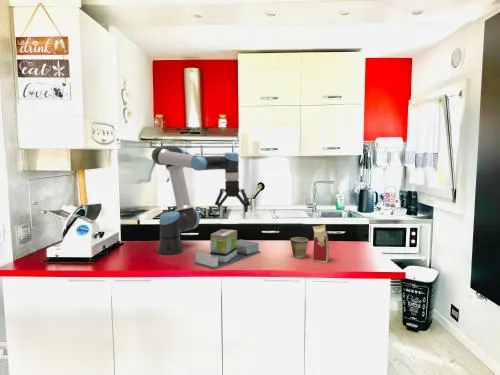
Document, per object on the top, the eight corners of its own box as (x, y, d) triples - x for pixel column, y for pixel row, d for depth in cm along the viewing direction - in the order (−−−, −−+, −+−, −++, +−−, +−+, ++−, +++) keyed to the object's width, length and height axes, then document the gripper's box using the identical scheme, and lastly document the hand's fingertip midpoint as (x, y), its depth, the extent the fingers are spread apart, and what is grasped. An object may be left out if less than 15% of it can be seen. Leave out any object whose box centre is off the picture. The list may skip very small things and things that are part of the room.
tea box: (227, 263, 185) (226, 235, 184) (209, 261, 189) (209, 234, 187) (237, 255, 199) (237, 229, 198) (221, 253, 203) (221, 228, 201)
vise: (195, 263, 188) (194, 252, 187) (241, 248, 217) (240, 238, 217) (215, 269, 178) (215, 257, 178) (260, 252, 208) (260, 242, 207)
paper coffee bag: (329, 258, 196) (330, 223, 194) (327, 263, 187) (328, 226, 185) (313, 256, 199) (313, 222, 197) (310, 261, 190) (310, 225, 188)
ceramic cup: (306, 259, 194) (306, 241, 193) (288, 258, 197) (288, 240, 196) (310, 253, 206) (310, 236, 205) (293, 251, 209) (293, 235, 208)
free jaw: (229, 250, 208) (229, 242, 207) (240, 246, 216) (240, 239, 215) (247, 254, 199) (247, 246, 199) (258, 250, 207) (258, 242, 207)
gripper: (208, 180, 195) (209, 218, 197) (251, 180, 188) (252, 219, 190) (213, 179, 202) (214, 215, 204) (255, 179, 196) (255, 217, 198)
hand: (232, 217), depth 197 cm, fingers open, 13 cm apart
